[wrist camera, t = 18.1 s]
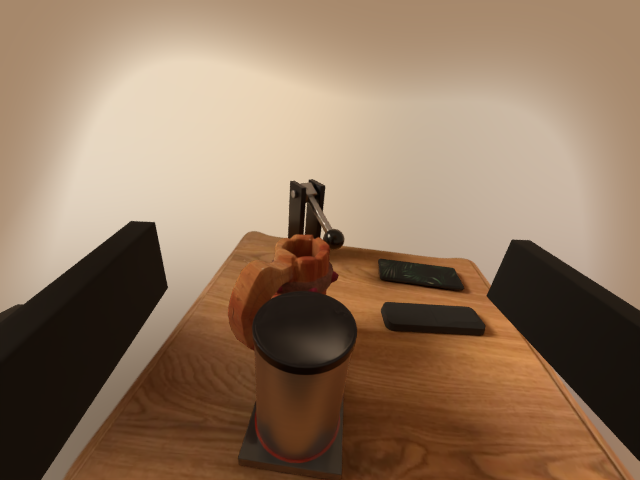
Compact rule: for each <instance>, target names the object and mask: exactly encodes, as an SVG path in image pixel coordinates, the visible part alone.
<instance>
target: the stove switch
mask: <svg viewBox="0 0 640 480" xmlns="http://www.w3.org/2000/svg"><path fill="white" fill-rule="evenodd" d="M309 183H311V184H312V185H313V187H314V189H315V190H316V192H317V194H316V197H315V200H316V202H317V203H318V205H319V207H320V208H321V210H322V212H323V204H324V194H325V185H323V184H321V183H319V182H317V181H315V180H313V179H311V180H309ZM289 202H290V204H289V227H288V239H291V238H292V237H293V236H294V235H303V233H304V218H305V203H306V187H304V186H303V185H301V184H299V183H298V182H296V181H290V201H289ZM305 235H313V238H314V239H316V238H318V237H319V238H320V235H321V224H320V223H319V221H318V219H317V217H316V215H315V214H314V212H313V210H312V208H311V207H310V205H309V203H307V213H306V227H305Z"/></svg>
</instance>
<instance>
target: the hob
mask: <svg viewBox="0 0 640 480" xmlns="http://www.w3.org/2000/svg"><path fill="white" fill-rule="evenodd" d="M343 402H344V394H343V399H342V404H341V409H340V414H339V419H338V424H337V429H336V432H335V435H334V437H333V438H332V440H331V442H330V443H329V444H328V445H327V447H326V448H325V449H323V450H322V451H321V452H320V453H318V454H316V455H315V456H312V457H310V458H306V459H300V460H293V459H287V458H284V457H281V456H279V455H277V454H275V453H274V452H273V451H271V450H270V449H269V448H268V447H267V446H266V445H265V443H264V442H263V440H262V439H261V437H260V434H259V431H258V427H257V415H256V402H255V405H254V408H253V411H252V415H251V418H250V421H249V424H248V427H247V431H246V434H245V437H244V440H243V443H242V447H241V450H240V453H239V456H238V464H239V465H241V466H247V467H253V468H259V469H265V470H271V471H278V472H284V473H290V474H296V475H302V476H309V477H315V478H321V479H327V480H341V476H342V444H343Z"/></svg>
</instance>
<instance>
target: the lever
mask: <svg viewBox="0 0 640 480" xmlns="http://www.w3.org/2000/svg"><path fill="white" fill-rule="evenodd" d="M301 185H303V186H304V187H306V203H309V205H310V207H311V208H312V210H313V212H314V214H315V215H316V217H317V219H318V221H319V223H320V224H321V226H322V228H323V230H324V231H325V235H324V237H323V240H324V241H325V242H326V243H327V244H328V245H329V248H330V250H337V249H339V248H341V247H342V245H343V243H344V236H343V234H342V232H340V231H339V230H336V229H332V227H331V226H330V224H329V222H328V221H327V219H326V217H325V216H324V214H323V212H322V210H321V208H320V207H319V205H318V203H317V202H316V200H315V197H316V194H317V192H316V190H315V189H314V187H313V185H312V184H311V183H301Z"/></svg>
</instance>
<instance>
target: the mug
mask: <svg viewBox="0 0 640 480" xmlns="http://www.w3.org/2000/svg"><path fill="white" fill-rule="evenodd" d="M329 253H330V248H329V245H328V244H327V243H326V242H325V241H324V240H322V239H321V238H319V237H318V238H316V239H314V238H313V235H294V236H293V237H292V238H291V239H288V238H284V239H281V240H280V241H279V242H278V243H277V245H276V247H275V258H274V260H273V261H272V262H271V263H265V262H262V261H260V260H254V261H252V262H250V263H249V264H248V265H247V266H246V267H245V268H244V269H243V270H242V272H241V273H240V275H239V277H238V279H237V281H236V284H235V286H234V289H233V291H232V294H231V298H230V302H229V307H228V316H229V323H230V327H231V330H232V331H233V333H234V335H235V337H236V338H237V339H238V340H239V341H240V342H242V343H243V344H245V345H246V346H247V347H248V348H250V349H252V350H254V351H255V346H254V343H253V338H252V324H253V320H254V317H255V315H256V313H257V311H258V310H259V309H260V308H261V307H262V306H263V304H265V303H266V302H267V301H269V300H270V299H271V298H274V297H276V296H278V295H281V294H284V293H288V292H295V291H311V292H317V293H321V294H324V295H326V289H327V288H328V287H329V286H330V284H331V283H332V282H335V281H336V280H337V279H338V276H339V275H338V274H337V273H336V272H334V271H333V268H332V265H331V263H330V262H329Z"/></svg>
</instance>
